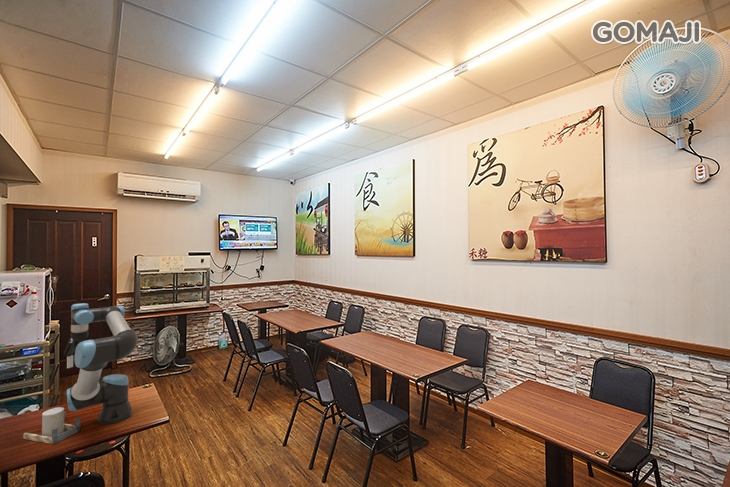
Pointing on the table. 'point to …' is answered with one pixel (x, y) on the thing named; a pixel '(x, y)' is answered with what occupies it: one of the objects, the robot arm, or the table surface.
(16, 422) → the table surface
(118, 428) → the table surface
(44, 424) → the cup
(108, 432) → the table surface
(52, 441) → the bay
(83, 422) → the table surface
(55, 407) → the grey-brown rounded block
